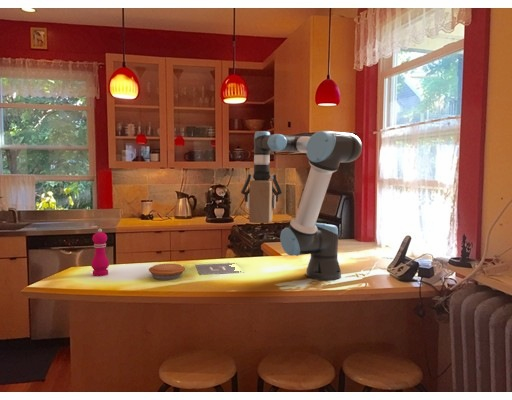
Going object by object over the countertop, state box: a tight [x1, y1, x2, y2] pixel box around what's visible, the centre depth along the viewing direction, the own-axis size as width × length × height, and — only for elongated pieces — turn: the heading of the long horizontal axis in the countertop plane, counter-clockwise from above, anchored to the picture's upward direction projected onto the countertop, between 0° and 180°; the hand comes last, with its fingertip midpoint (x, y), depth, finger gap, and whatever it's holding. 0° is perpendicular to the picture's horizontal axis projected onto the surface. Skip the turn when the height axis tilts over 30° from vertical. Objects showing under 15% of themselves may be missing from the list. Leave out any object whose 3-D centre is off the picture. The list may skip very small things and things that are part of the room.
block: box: [248, 179, 274, 224], centre depth 205 cm, size 10×10×20 cm
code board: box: [195, 262, 240, 276], centre depth 198 cm, size 20×20×1 cm
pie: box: [148, 263, 186, 281], centre depth 182 cm, size 15×16×5 cm
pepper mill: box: [90, 228, 110, 277], centre depth 183 cm, size 7×7×20 cm
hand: (261, 208), depth 205 cm, fingers closed on block, 12 cm apart
